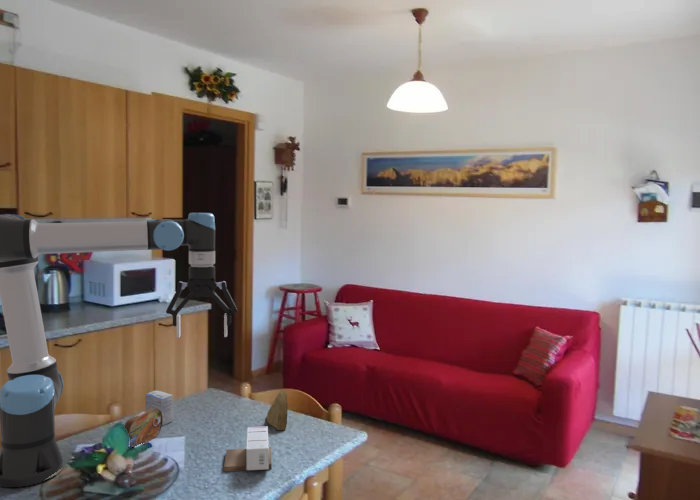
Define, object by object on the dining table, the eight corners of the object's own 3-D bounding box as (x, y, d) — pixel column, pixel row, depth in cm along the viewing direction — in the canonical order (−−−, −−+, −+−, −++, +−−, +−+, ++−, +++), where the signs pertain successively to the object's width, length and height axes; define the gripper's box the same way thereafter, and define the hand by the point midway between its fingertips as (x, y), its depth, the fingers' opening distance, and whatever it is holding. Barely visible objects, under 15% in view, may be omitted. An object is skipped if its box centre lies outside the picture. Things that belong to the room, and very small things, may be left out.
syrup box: (268, 447, 140) (268, 425, 154) (245, 449, 139) (247, 426, 154) (269, 469, 141) (269, 445, 155) (245, 471, 140) (247, 446, 154)
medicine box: (173, 421, 174) (173, 394, 173) (162, 426, 170) (161, 398, 169) (157, 416, 178) (156, 389, 177) (145, 420, 174) (145, 393, 173)
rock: (294, 424, 167) (300, 408, 177) (276, 403, 166) (283, 388, 175) (266, 443, 169) (273, 425, 179) (249, 421, 168) (257, 405, 178)
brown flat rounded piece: (129, 453, 151) (129, 423, 150) (120, 452, 152) (119, 422, 151) (163, 432, 165) (163, 404, 165) (154, 430, 166) (154, 403, 166)
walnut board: (224, 471, 142) (224, 466, 142) (226, 453, 152) (226, 449, 152) (271, 468, 144) (271, 464, 144) (270, 451, 154) (270, 447, 154)
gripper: (155, 266, 157) (156, 340, 159) (244, 266, 161) (244, 338, 163) (160, 264, 165) (160, 334, 167) (245, 264, 169) (245, 332, 171)
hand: (202, 336), depth 165 cm, fingers open, 13 cm apart
